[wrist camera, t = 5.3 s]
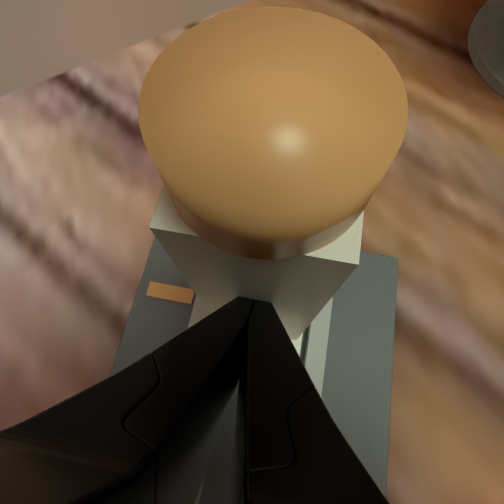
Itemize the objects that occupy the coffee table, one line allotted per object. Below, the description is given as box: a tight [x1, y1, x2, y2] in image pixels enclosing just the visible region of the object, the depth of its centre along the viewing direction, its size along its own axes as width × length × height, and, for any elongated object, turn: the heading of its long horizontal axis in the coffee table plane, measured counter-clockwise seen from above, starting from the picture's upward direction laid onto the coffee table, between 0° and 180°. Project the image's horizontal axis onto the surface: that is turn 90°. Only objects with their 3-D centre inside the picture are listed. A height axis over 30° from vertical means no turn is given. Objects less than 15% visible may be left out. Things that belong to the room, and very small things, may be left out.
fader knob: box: [138, 6, 408, 356], centre depth 10 cm, size 5×4×12 cm
